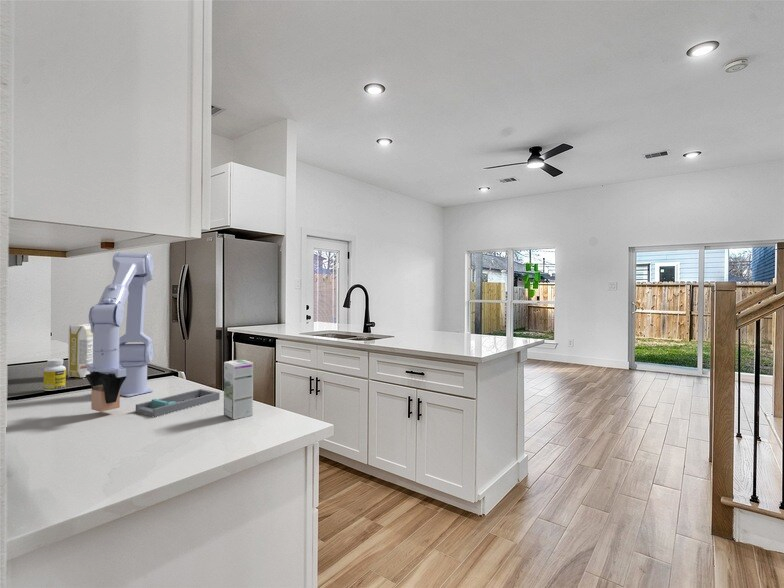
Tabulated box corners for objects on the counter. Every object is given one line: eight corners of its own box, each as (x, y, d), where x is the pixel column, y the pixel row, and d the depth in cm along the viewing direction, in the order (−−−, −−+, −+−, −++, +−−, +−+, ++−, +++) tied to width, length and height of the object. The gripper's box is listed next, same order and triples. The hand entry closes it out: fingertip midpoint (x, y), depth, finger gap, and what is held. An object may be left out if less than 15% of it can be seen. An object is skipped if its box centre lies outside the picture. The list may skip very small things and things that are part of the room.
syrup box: (253, 415, 108) (254, 361, 108) (232, 420, 104) (233, 364, 104) (243, 410, 112) (244, 358, 112) (222, 415, 108) (223, 361, 107)
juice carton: (103, 374, 151) (104, 324, 151) (81, 379, 143) (82, 326, 143) (86, 373, 153) (87, 323, 152) (64, 378, 144) (64, 325, 144)
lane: (135, 411, 109) (135, 404, 109) (200, 395, 127) (200, 388, 126) (155, 417, 105) (155, 409, 105) (219, 399, 123) (219, 392, 123)
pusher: (151, 408, 111) (151, 399, 111) (168, 403, 116) (168, 395, 116) (164, 411, 109) (164, 402, 109) (181, 407, 113) (182, 398, 113)
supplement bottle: (55, 392, 125) (56, 361, 125) (38, 392, 125) (39, 361, 125) (70, 388, 131) (70, 358, 131) (53, 388, 131) (53, 358, 131)
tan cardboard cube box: (91, 409, 105) (91, 386, 105) (109, 404, 109) (110, 382, 109) (101, 412, 103) (101, 388, 103) (119, 407, 107) (119, 385, 107)
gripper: (74, 349, 106) (73, 400, 106) (105, 354, 99) (104, 409, 100) (103, 345, 112) (102, 394, 112) (134, 350, 106) (133, 402, 106)
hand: (105, 401), depth 106 cm, fingers closed on tan cardboard cube box, 4 cm apart
